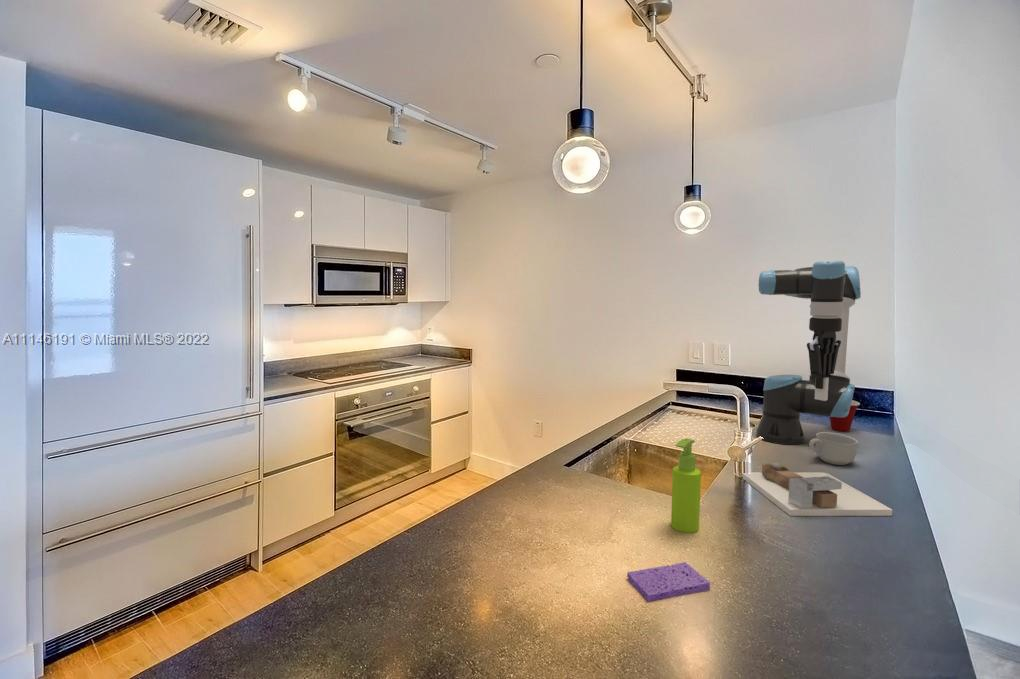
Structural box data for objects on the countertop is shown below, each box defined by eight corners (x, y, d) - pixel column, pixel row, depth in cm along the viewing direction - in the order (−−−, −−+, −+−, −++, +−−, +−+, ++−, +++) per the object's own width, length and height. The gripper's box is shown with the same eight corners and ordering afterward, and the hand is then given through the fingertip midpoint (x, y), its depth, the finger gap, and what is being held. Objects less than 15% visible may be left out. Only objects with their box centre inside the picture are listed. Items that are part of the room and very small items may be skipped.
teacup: (842, 456, 151) (844, 432, 150) (864, 468, 140) (866, 442, 140) (797, 455, 152) (798, 431, 152) (815, 467, 142) (817, 441, 141)
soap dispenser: (664, 527, 104) (666, 440, 103) (678, 517, 109) (681, 434, 107) (689, 537, 100) (692, 446, 98) (703, 526, 105) (706, 439, 103)
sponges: (710, 592, 82) (710, 582, 82) (647, 604, 79) (647, 594, 79) (685, 570, 89) (685, 560, 89) (626, 580, 86) (626, 571, 86)
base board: (741, 477, 134) (741, 472, 133) (825, 477, 133) (825, 472, 133) (789, 515, 110) (790, 509, 110) (892, 515, 110) (892, 509, 110)
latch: (759, 474, 131) (759, 461, 131) (777, 473, 132) (778, 460, 131) (818, 507, 110) (819, 492, 110) (839, 506, 111) (840, 490, 111)
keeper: (787, 507, 114) (789, 478, 114) (826, 505, 116) (828, 476, 115) (800, 515, 110) (801, 485, 110) (839, 512, 112) (841, 482, 111)
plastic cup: (856, 435, 173) (858, 404, 172) (821, 430, 181) (823, 399, 180) (860, 429, 181) (862, 399, 180) (826, 424, 189) (828, 395, 188)
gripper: (824, 315, 137) (820, 393, 139) (798, 317, 131) (794, 399, 133) (853, 316, 130) (847, 399, 133) (826, 319, 124) (821, 405, 127)
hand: (820, 399), depth 133 cm, fingers closed
